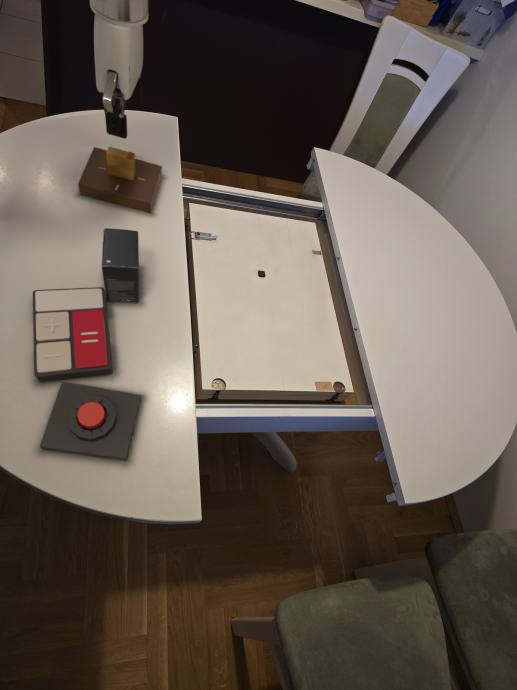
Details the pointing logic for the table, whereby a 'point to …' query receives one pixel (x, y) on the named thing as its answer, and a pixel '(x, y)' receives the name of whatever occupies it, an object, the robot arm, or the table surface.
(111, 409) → the bell block
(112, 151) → the lock knob
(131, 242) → the box
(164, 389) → the table surface
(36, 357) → the calculator
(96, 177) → the plate
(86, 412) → the bell button
